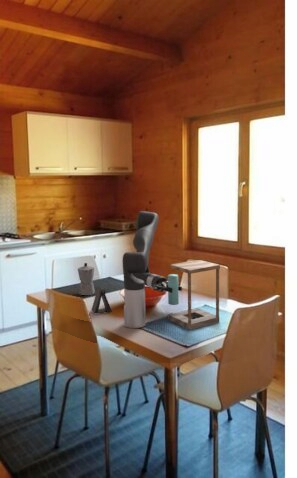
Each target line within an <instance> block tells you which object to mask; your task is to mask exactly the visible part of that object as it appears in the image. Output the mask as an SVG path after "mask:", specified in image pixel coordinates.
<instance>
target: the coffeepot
mask: <svg viewBox="0 0 297 478" xmlns="http://www.w3.org/2000/svg"><path fill="white" fill-rule="evenodd" d="M77 271H78V272H77V273H78V277H79V278H78V279H79V280H80V283H79V290H78V295H79V294H81V295H91V296H93V295H92V294H94V293H95V294H96V290H95V285H94V282H93V280H94V274H95V273H94V272H95V267H94V266H89V265H88V263H87V262H85V263H84V264H83V266H79V267H78V268H77ZM95 294H94V295H95ZM81 295H80V296H81Z"/></svg>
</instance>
